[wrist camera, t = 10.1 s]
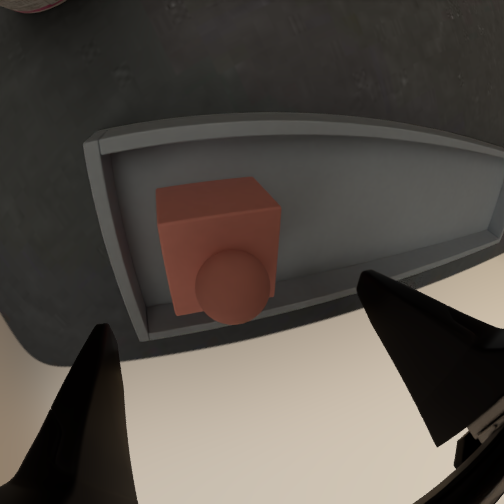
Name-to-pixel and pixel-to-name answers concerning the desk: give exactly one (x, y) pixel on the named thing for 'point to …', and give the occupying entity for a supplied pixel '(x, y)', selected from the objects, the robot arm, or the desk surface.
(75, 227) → the desk surface
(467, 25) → the desk surface
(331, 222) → the tray
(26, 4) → the pill bottle
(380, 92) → the desk surface
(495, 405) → the robot arm
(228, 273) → the red knobbed block
